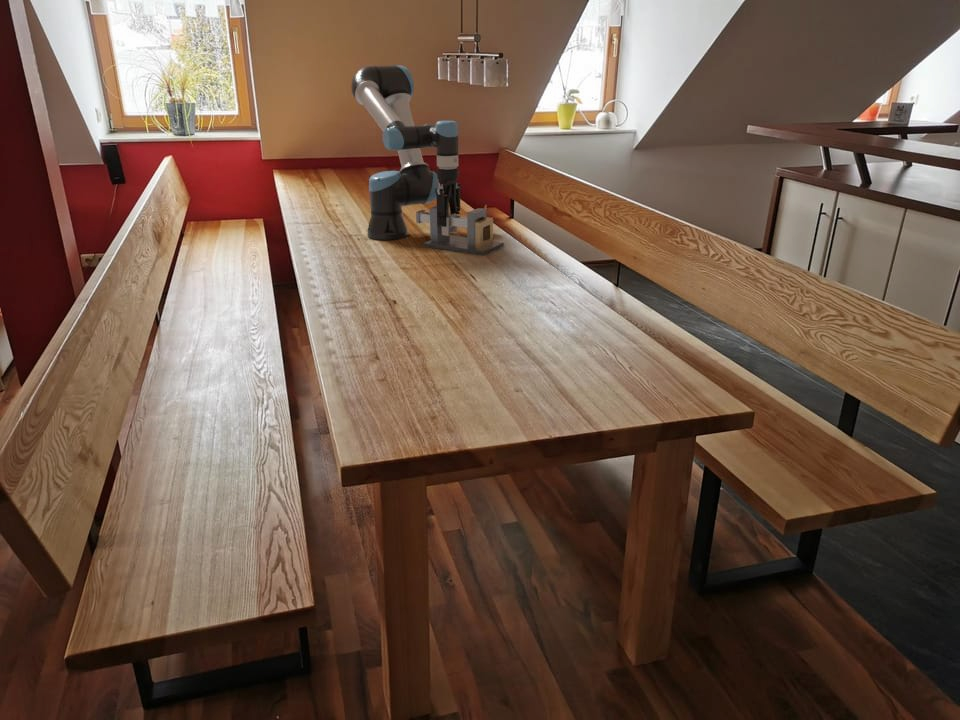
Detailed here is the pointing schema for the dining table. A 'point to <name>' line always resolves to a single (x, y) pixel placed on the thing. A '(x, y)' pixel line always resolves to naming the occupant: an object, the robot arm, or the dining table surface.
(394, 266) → the dining table surface
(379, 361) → the dining table surface
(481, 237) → the block
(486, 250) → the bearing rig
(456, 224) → the shaft
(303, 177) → the dining table surface
